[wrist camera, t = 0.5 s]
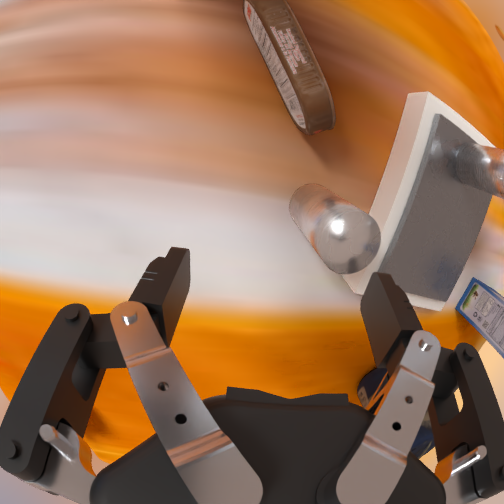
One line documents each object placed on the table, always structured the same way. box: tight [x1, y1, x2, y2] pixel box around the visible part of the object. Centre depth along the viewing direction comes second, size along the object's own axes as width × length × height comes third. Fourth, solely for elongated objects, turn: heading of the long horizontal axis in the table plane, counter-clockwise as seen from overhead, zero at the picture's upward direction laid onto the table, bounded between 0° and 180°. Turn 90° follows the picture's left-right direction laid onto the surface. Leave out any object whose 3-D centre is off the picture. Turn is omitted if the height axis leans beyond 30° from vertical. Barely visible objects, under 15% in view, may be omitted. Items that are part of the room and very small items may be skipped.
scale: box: [342, 91, 496, 311], centre depth 30 cm, size 24×17×4 cm
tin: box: [243, 0, 336, 135], centre depth 21 cm, size 15×3×8 cm, turn 23°
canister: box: [357, 368, 435, 459], centre depth 35 cm, size 10×10×18 cm
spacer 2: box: [456, 143, 504, 199], centre depth 19 cm, size 5×5×11 cm
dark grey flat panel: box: [377, 114, 492, 302], centre depth 27 cm, size 20×13×1 cm, turn 163°
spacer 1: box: [289, 184, 381, 274], centre depth 26 cm, size 5×5×11 cm
